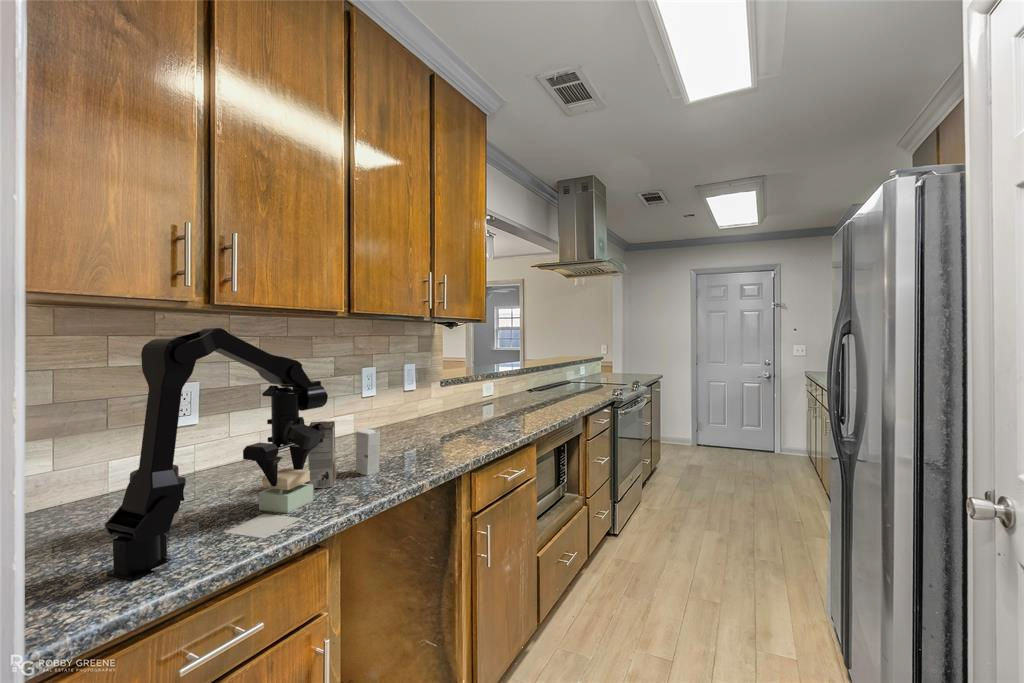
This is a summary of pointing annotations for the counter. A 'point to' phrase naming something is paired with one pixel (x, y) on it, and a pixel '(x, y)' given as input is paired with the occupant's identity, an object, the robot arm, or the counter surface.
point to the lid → (288, 479)
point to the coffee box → (323, 459)
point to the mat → (263, 525)
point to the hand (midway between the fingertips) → (286, 481)
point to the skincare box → (367, 451)
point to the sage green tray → (285, 498)
